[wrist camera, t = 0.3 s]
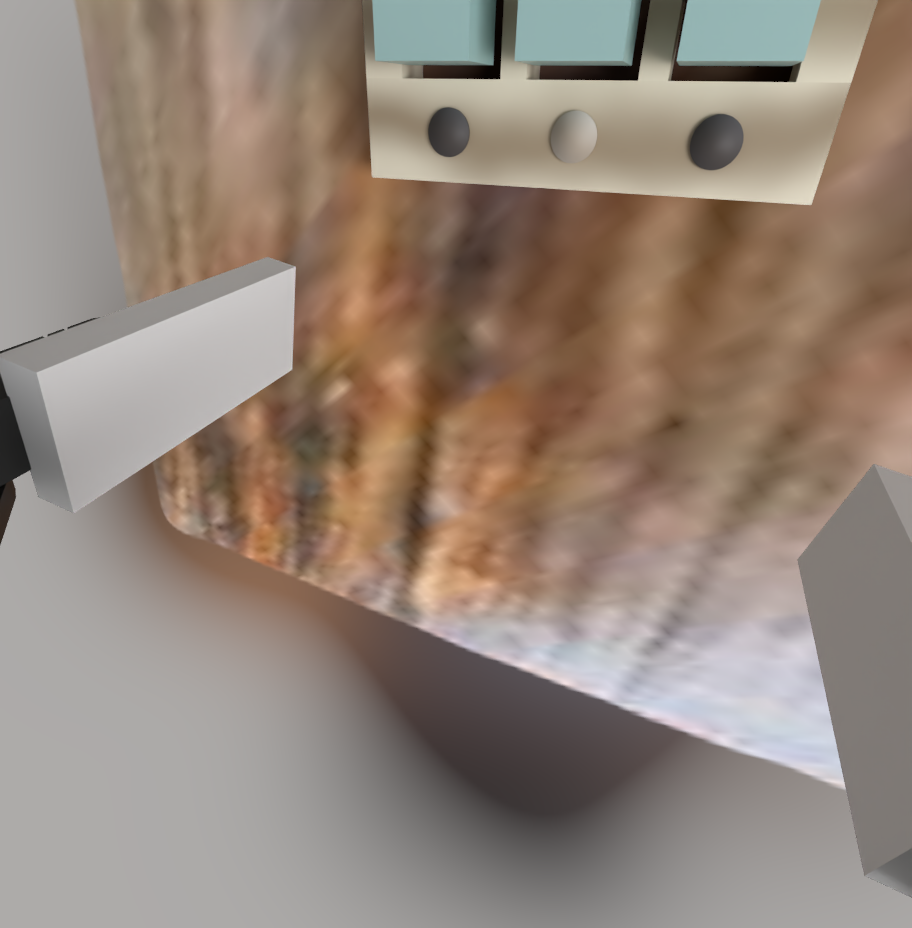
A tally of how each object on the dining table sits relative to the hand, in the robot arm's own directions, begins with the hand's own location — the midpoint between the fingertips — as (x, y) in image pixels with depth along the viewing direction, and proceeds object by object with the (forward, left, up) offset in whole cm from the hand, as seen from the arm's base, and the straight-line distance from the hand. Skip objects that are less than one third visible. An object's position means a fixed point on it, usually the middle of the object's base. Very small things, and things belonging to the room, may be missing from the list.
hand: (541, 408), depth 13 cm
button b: (-10, -4, -23) cm, 25 cm away
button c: (-10, +3, -23) cm, 25 cm away
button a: (-10, -11, -23) cm, 27 cm away
